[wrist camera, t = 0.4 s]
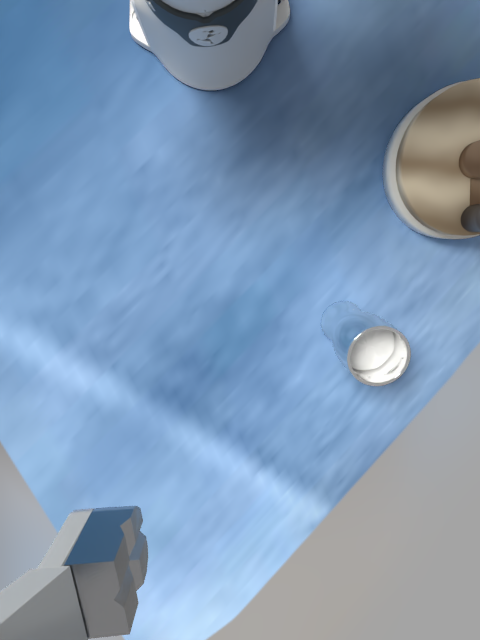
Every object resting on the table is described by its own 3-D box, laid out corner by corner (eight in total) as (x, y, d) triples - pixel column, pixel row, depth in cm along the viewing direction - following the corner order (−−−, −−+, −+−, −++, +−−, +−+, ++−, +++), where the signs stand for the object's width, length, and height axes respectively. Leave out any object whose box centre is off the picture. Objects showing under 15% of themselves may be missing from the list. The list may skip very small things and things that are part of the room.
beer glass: (365, 345, 55) (410, 387, 41) (316, 345, 55) (343, 388, 41) (368, 296, 53) (415, 323, 39) (317, 297, 54) (346, 324, 39)
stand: (381, 97, 48) (398, 81, 42) (542, 78, 47) (581, 59, 42) (383, 245, 52) (400, 247, 46) (532, 229, 51) (565, 230, 46)
